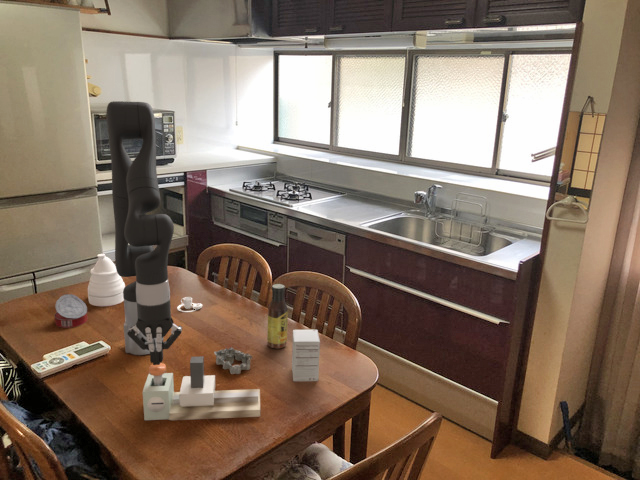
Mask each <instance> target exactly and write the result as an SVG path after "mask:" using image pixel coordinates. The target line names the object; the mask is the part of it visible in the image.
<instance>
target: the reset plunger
mask: <svg viewBox="0 0 640 480" xmlns="http://www.w3.org/2000/svg"><path fill="white" fill-rule="evenodd" d="M164 373H167V366H166V364H165V363H164V362H162V363H160V365H153V363H151V364H150V366H148V374H150V375H153V376H154V386H163V381H162V374H164Z"/></svg>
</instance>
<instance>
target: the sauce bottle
mask: <svg viewBox="0 0 640 480" xmlns="http://www.w3.org/2000/svg"><path fill="white" fill-rule="evenodd" d="M285 291H286V286H285V285H284V284H282V283H275V284H272V286H271V292H272V293H271V294H272V295H271V301H270V302H269V304H268V308H267V311H268V312H267V332H266V333H267V334H266V335H267V337H266V338H267V339H266V340H267V346H268V347H270V348H271V349H278V350H279V349H282V348H285V347H286V345H287V342H288V322H289V319H288V318H289V316H288V314H289V308H288V307H287V306H288V305H287V303H286V300H285Z"/></svg>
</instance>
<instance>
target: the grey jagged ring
mask: <svg viewBox="0 0 640 480" xmlns="http://www.w3.org/2000/svg"><path fill="white" fill-rule="evenodd" d="M213 353H214V355H215V356H216V357H215V364H216V365H218V366H219V365H220V366H221V365H222V369H224V370H229V373H230V374H231V375H234V374H235V375H240V374H241V373H242V372H241V371H242V370H246V371H248V370H250V369H251V360H252V359H253V356H252V355H251V354H250V353H245V352H242V351H240V350H238V349H234V348H233V347H231V346H230V347H229V348H228V347H226V348H224V349H219V350H218V351H213ZM234 360H235V361H237V362H239V361H241V363H240V364H234V363H235V361H234ZM233 364H234V365H233Z"/></svg>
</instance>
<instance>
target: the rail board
mask: <svg viewBox="0 0 640 480" xmlns="http://www.w3.org/2000/svg"><path fill="white" fill-rule="evenodd" d="M179 393H180V391H174V396H173V400H172V404H171V408H170V412H169V419H168V420H169V421H189V420H209V419H210V420H212V419H232V418H233V419H236V418H258V417H261V389H260V388H253V389H252V388H251V389H249V388H248V389H229V390H228V389H226V390H223V389H222V390H215V393H214V405H210V406H185V407H181V405H180V400H179Z"/></svg>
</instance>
